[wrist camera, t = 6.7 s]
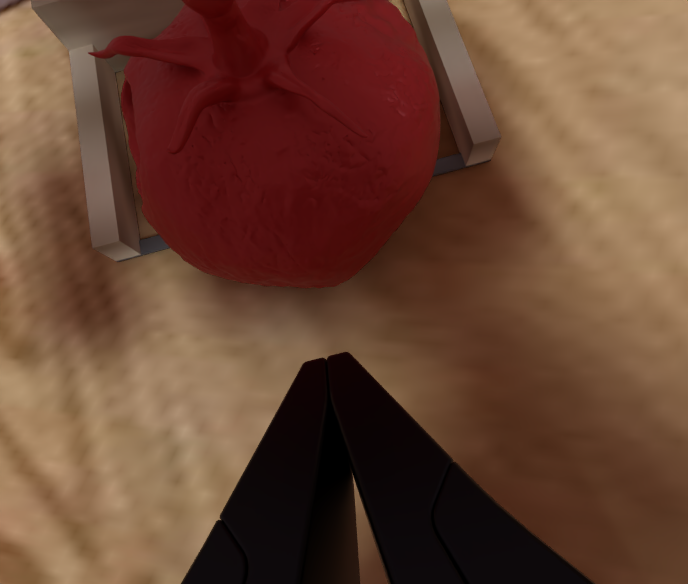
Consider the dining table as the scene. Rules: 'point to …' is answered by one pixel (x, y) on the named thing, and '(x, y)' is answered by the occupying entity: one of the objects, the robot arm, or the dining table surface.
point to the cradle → (149, 21)
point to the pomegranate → (280, 134)
